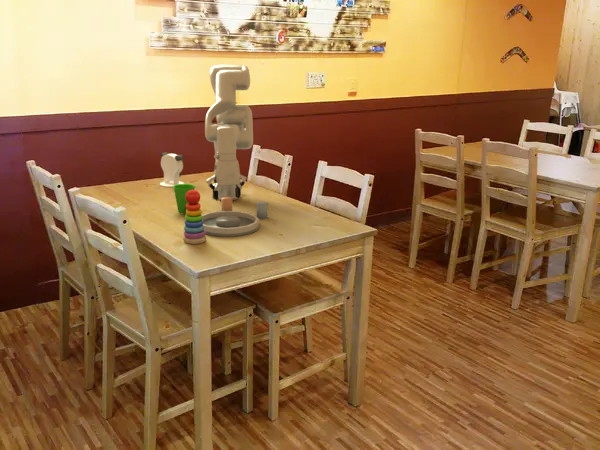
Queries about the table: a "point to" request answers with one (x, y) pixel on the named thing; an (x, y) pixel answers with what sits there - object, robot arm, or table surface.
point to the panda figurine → (171, 169)
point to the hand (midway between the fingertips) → (226, 198)
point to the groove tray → (230, 223)
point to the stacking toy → (193, 219)
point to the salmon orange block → (226, 203)
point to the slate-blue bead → (262, 210)
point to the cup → (182, 196)
